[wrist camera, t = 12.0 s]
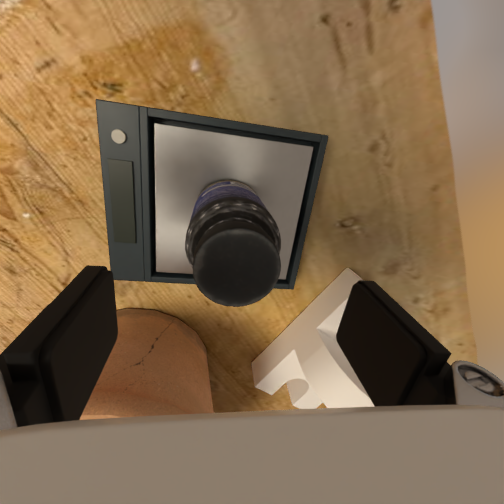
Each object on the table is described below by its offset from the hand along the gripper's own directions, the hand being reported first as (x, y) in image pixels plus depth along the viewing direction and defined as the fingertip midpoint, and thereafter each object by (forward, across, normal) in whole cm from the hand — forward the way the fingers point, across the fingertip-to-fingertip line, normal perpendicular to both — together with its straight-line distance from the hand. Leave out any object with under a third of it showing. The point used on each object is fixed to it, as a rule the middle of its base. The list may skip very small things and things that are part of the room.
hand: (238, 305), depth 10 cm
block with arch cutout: (+17, -15, +16) cm, 28 cm away
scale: (+17, +1, 0) cm, 17 cm away
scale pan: (+15, -1, 0) cm, 15 cm away
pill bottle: (+15, 0, 0) cm, 15 cm away
